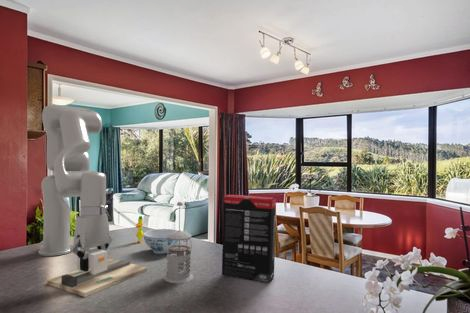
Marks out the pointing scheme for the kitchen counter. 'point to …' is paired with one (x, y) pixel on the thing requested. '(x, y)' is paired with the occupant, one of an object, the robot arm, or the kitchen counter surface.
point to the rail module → (95, 260)
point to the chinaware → (159, 240)
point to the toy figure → (139, 226)
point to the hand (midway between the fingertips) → (92, 267)
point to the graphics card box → (249, 237)
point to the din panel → (96, 278)
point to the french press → (178, 257)
